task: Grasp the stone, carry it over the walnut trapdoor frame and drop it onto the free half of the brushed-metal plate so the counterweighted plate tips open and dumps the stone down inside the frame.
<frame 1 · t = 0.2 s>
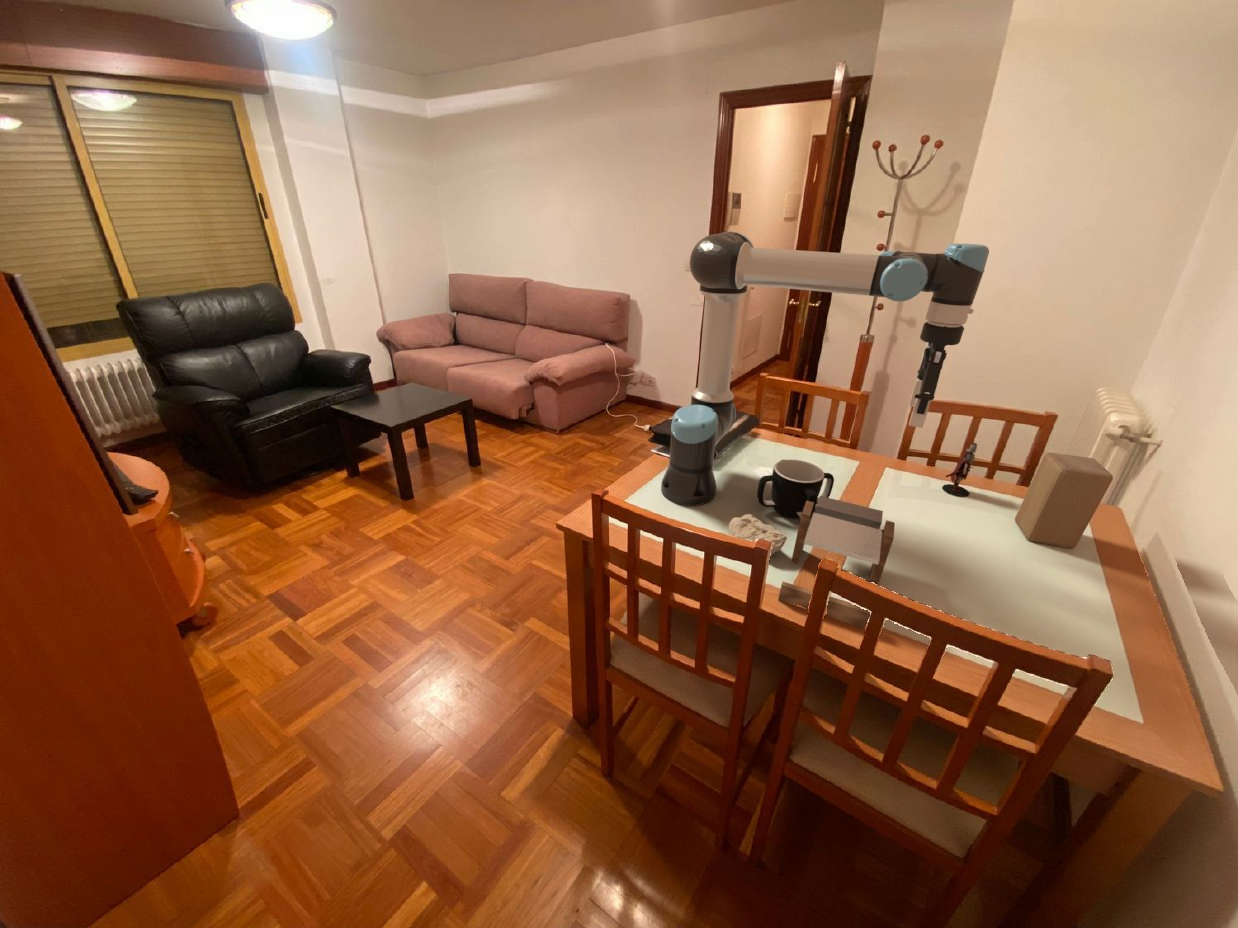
hand: (915, 416, 116), 28 cm above the table, fingers open, 13 cm apart
figurine: (954, 491, 141), on the table
frame: (831, 580, 106), on the table
mug: (790, 510, 131), on the table
trapdoor: (844, 530, 104), point 11 cm above the table, hinge at 0.0°
stone: (752, 546, 117), on the table
wooden block: (1042, 535, 123), on the table
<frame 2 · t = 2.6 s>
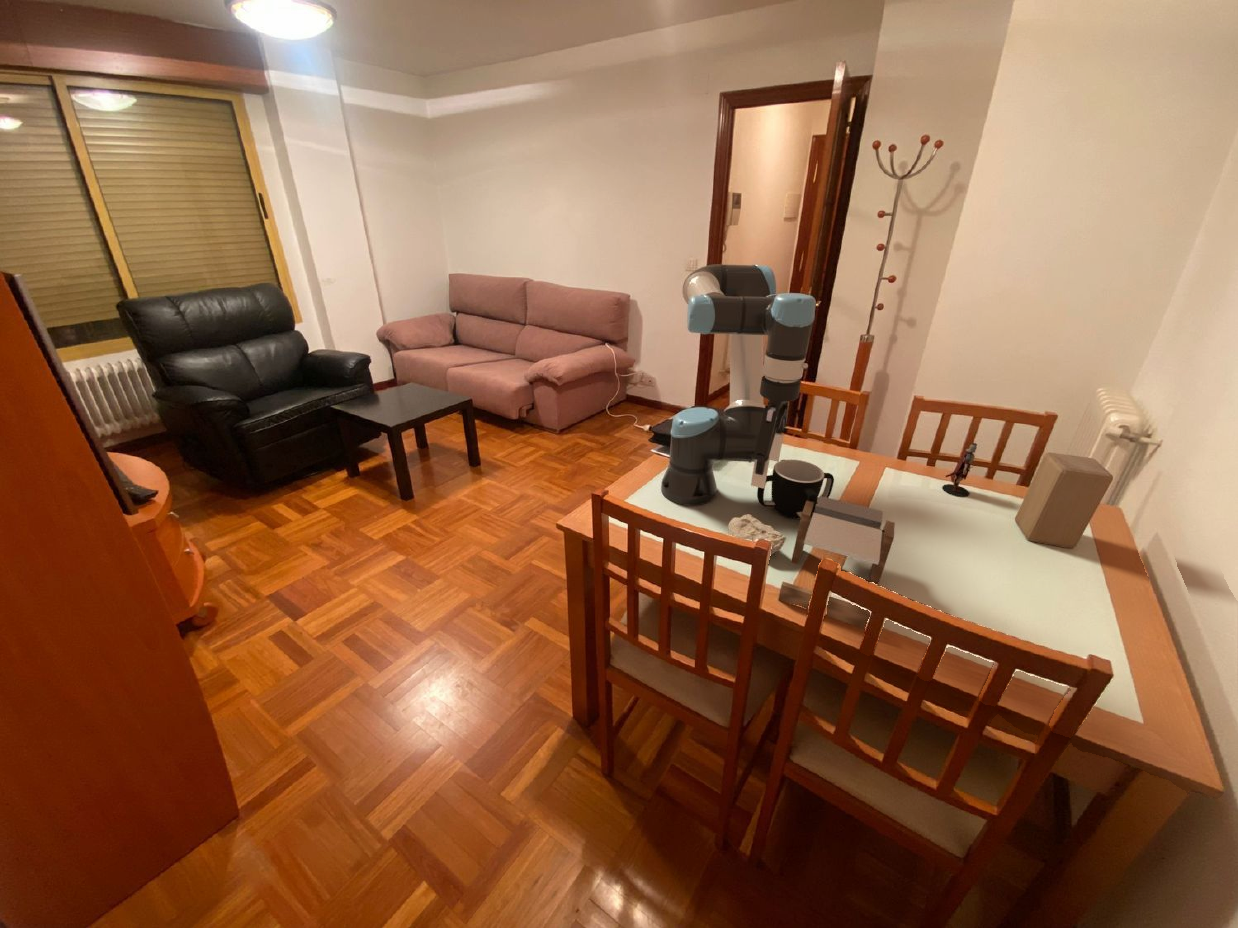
hand: (765, 472, 108), 20 cm above the table, fingers open, 13 cm apart
nothing on the table moved.
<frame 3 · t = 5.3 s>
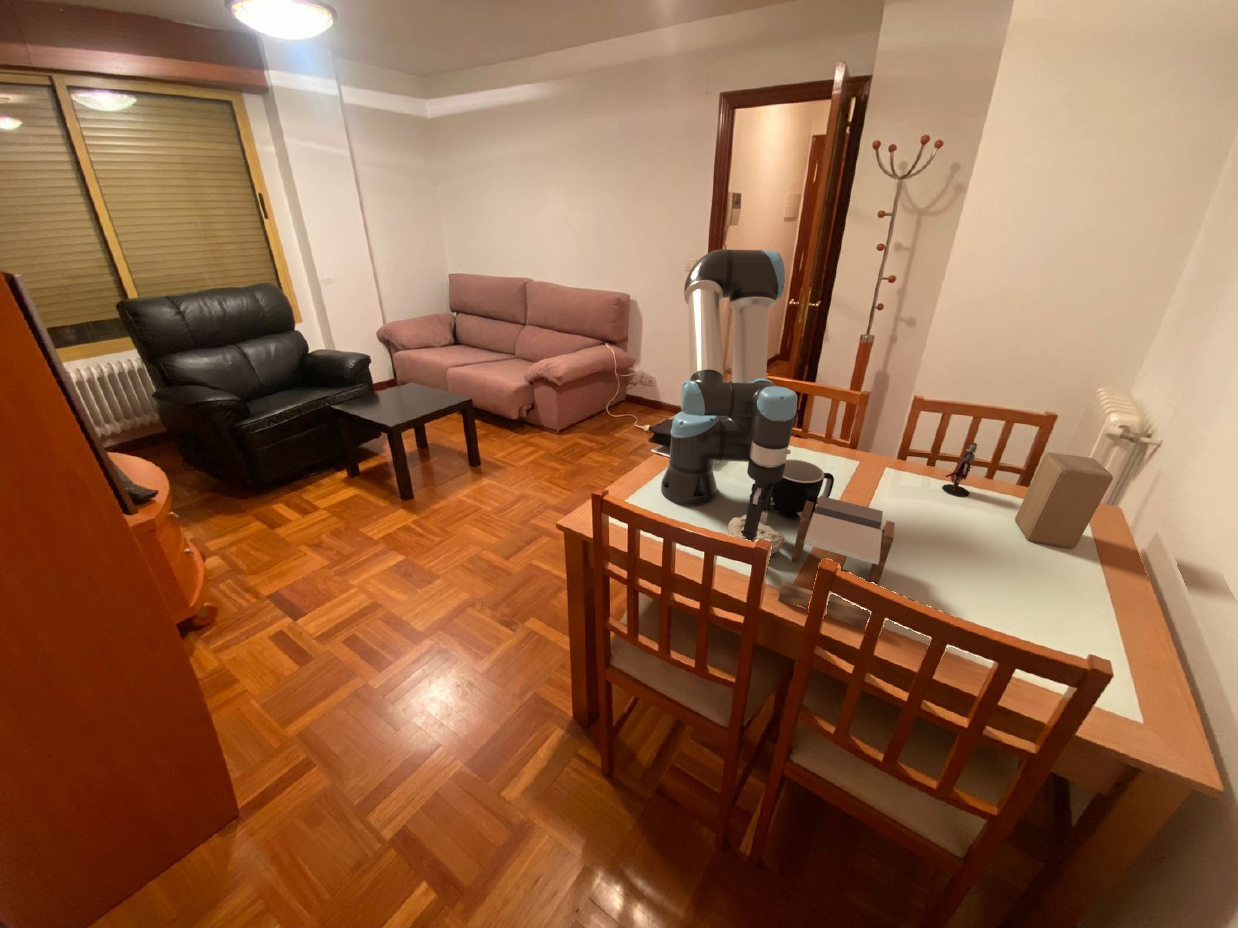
hand: (752, 544, 117), 0 cm above the table, fingers open, 9 cm apart
stone: (750, 547, 117), on the table, touching gripper
everything else where it was.
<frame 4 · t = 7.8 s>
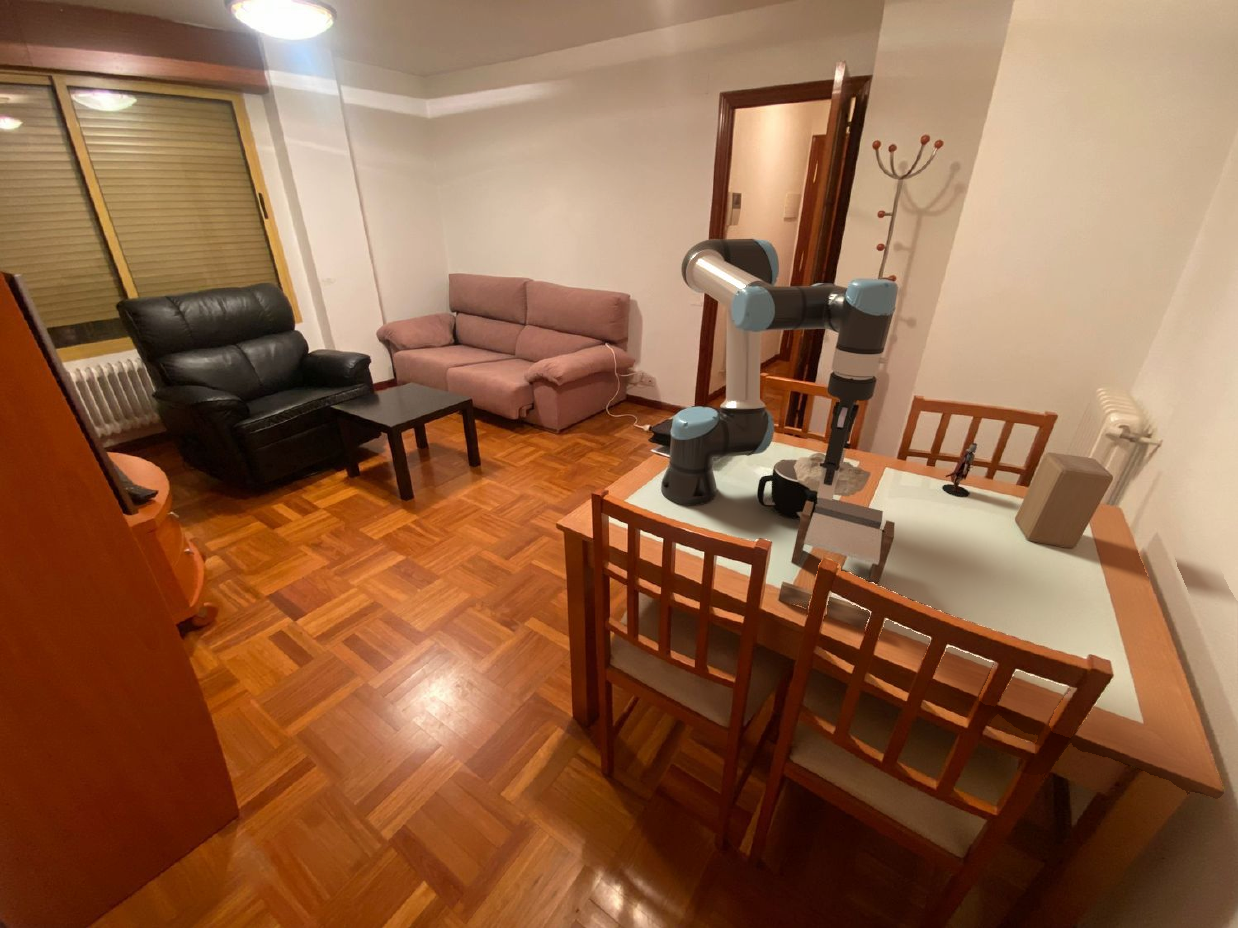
hand: (828, 487, 97), 22 cm above the table, fingers closed on stone, 8 cm apart
stone: (824, 490, 98), point 21 cm above the table, touching gripper
everything else where it was.
when the fingers open (15 cm above the table, at t = 9.6 s): stone drops 6 cm, resting on trapdoor.
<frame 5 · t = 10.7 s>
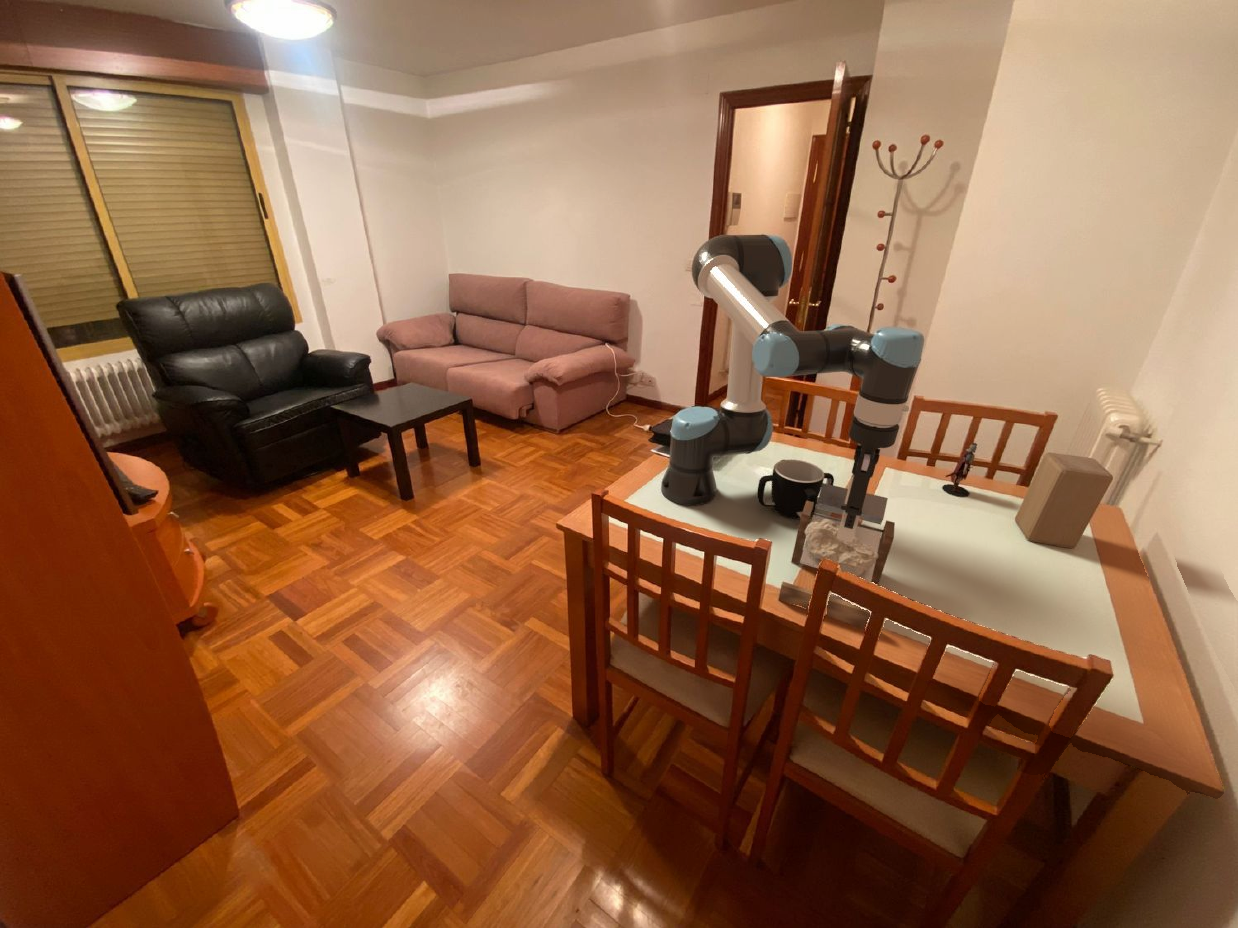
hand: (848, 521, 97), 17 cm above the table, fingers open, 13 cm apart
trapdoor: (844, 532, 105), point 10 cm above the table, hinge at -35.0°, touching stone
stone: (835, 552, 102), point 8 cm above the table, touching trapdoor
everything else where it was.
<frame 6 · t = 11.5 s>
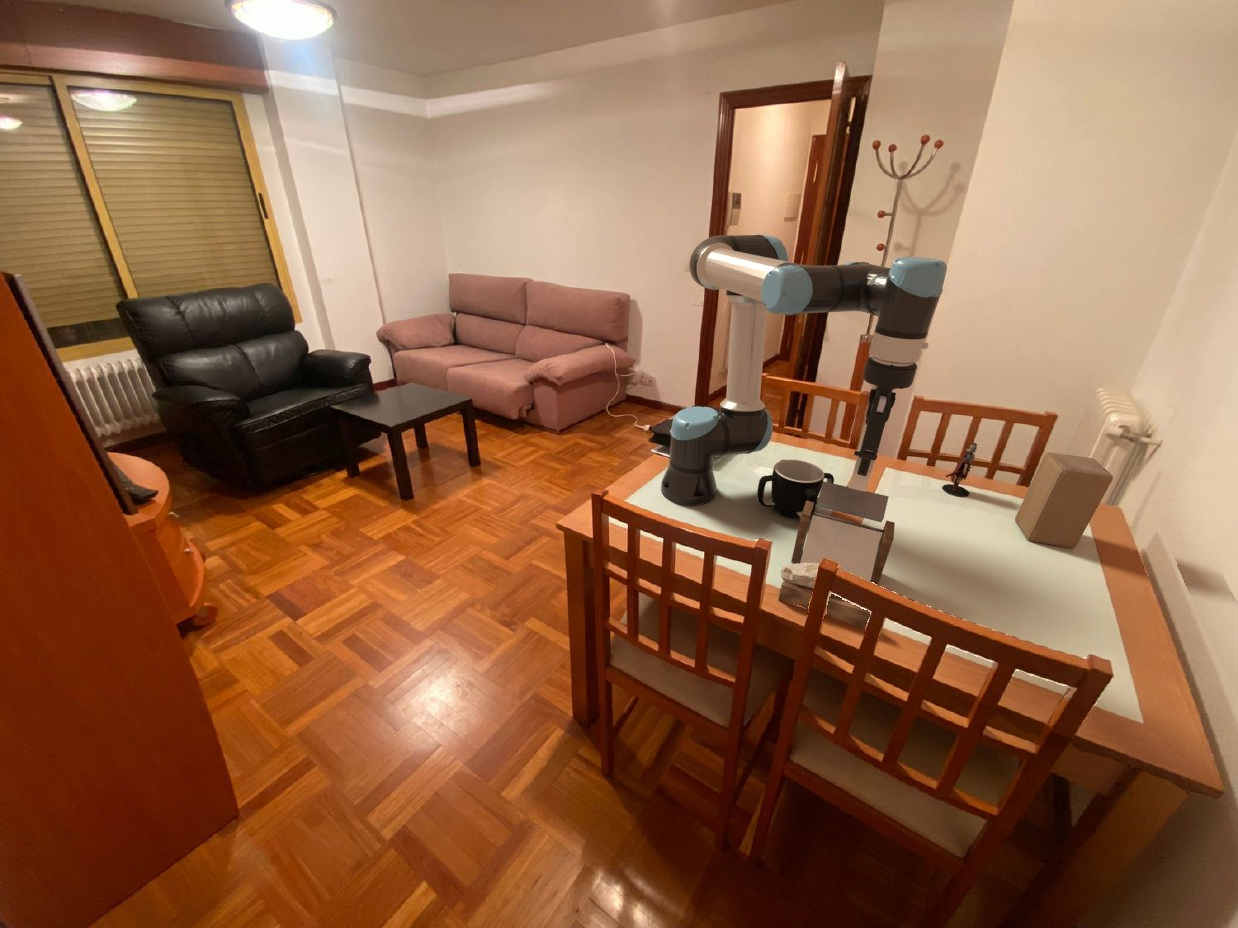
hand: (860, 472, 92), 27 cm above the table, fingers open, 13 cm apart
trapdoor: (844, 532, 105), point 10 cm above the table, hinge at -43.7°, touching stone
stone: (816, 572, 103), point 4 cm above the table, touching frame, trapdoor
everything else where it was.
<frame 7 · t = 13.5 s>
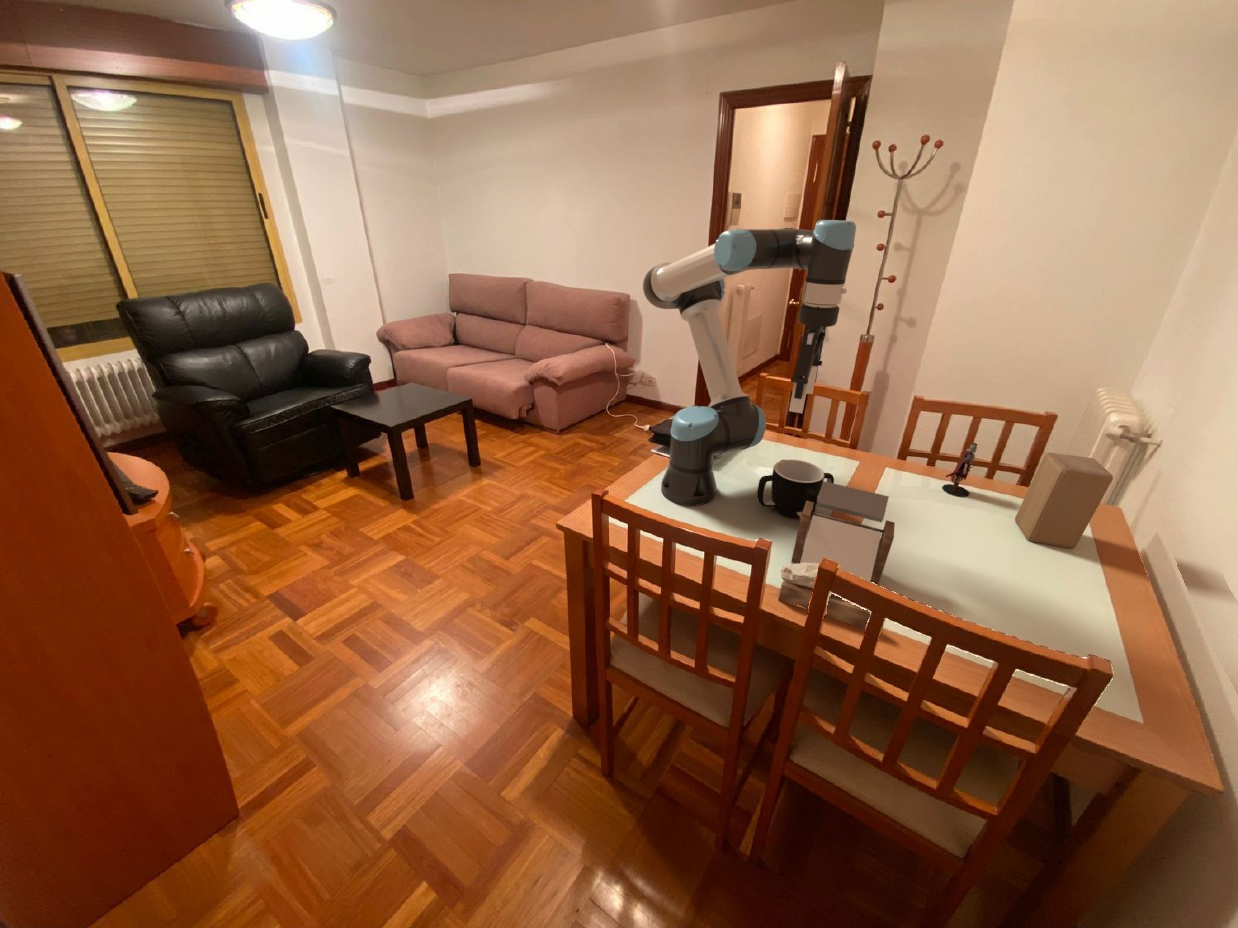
hand: (801, 402, 112), 32 cm above the table, fingers open, 13 cm apart
nothing on the table moved.
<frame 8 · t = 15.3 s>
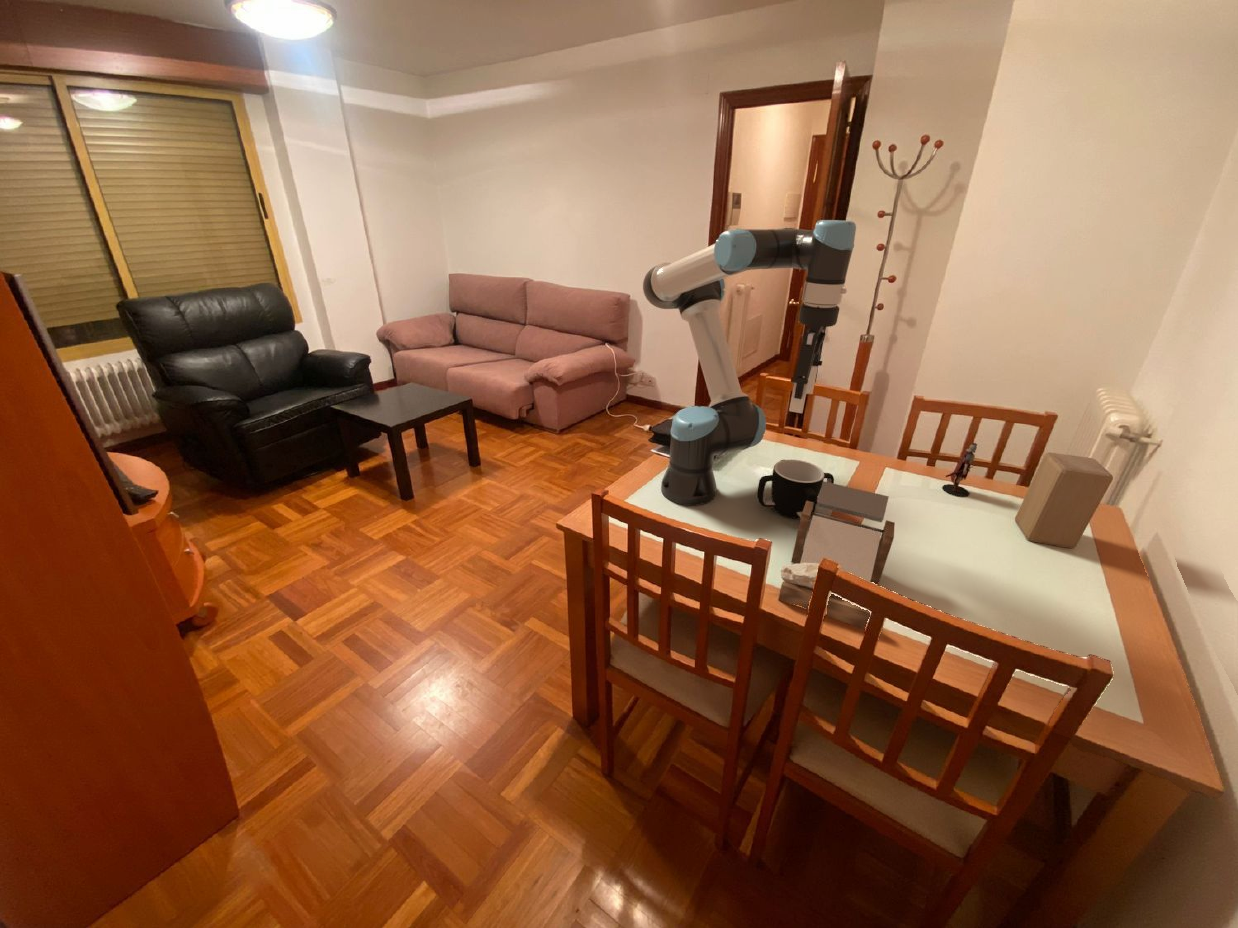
hand: (801, 402, 112), 32 cm above the table, fingers open, 13 cm apart
nothing on the table moved.
at the end: stone inside the target area (3.2 cm from its centre), point 3.9 cm above the table; trapdoor at -44° (first picture: +0°); the gripper is holding nothing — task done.
